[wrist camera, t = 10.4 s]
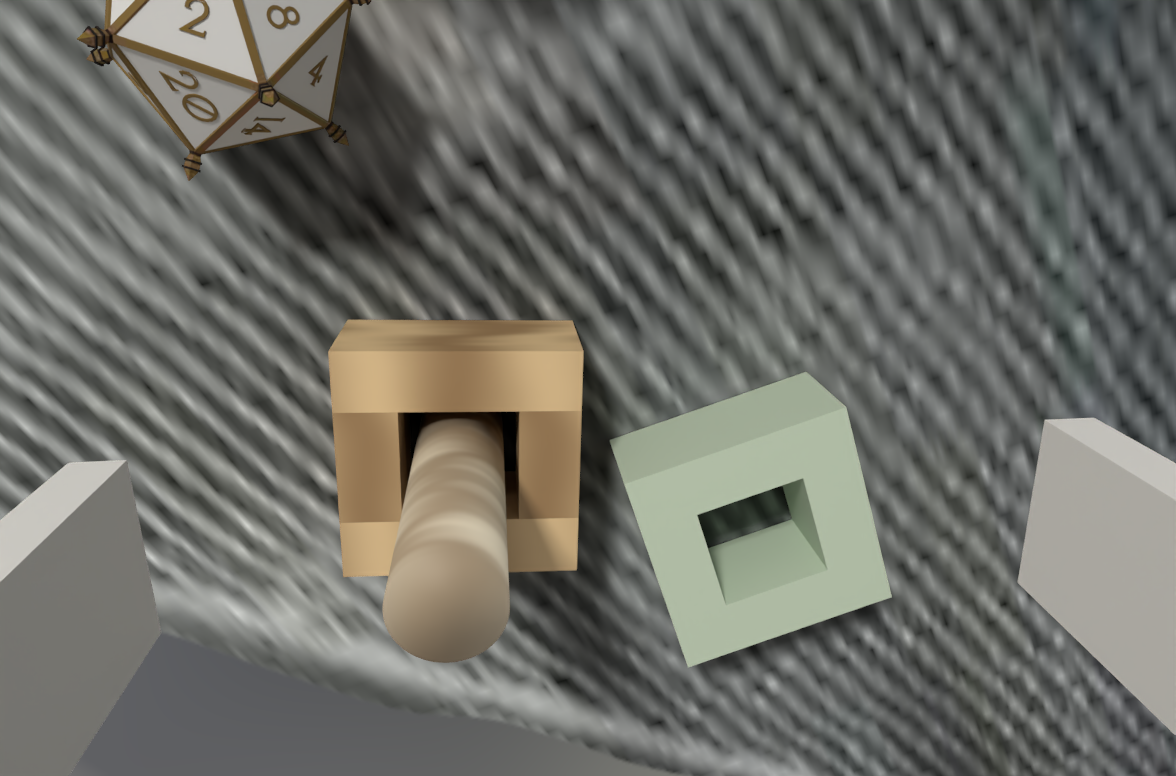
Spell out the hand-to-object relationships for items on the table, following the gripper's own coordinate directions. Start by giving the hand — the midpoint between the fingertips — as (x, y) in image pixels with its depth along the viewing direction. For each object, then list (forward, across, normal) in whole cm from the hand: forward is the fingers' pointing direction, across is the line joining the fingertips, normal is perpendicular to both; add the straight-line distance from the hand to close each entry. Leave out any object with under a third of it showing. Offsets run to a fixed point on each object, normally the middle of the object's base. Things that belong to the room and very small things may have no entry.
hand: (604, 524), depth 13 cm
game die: (+24, +10, -8) cm, 27 cm away
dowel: (+23, +4, +7) cm, 25 cm away
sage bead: (+24, -8, +11) cm, 27 cm away
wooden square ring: (+23, +4, +7) cm, 25 cm away
